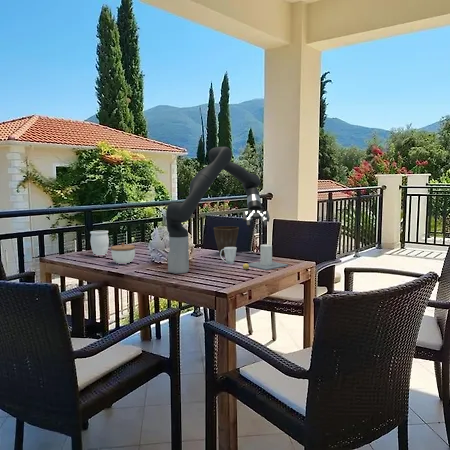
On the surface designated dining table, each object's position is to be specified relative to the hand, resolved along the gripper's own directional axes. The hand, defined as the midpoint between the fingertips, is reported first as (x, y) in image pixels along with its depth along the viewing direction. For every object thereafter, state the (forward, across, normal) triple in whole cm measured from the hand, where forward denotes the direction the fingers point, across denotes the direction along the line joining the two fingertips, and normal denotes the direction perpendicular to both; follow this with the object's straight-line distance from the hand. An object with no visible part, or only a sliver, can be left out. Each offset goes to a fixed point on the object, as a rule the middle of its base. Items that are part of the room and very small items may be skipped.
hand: (257, 226), depth 225 cm
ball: (+27, -8, +1) cm, 28 cm away
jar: (-7, -88, +35) cm, 95 cm away
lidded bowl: (+10, -71, +19) cm, 74 cm away
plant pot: (-5, -14, +32) cm, 35 cm away
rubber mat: (+21, +3, +6) cm, 22 cm away
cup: (+13, -15, +15) cm, 25 cm away
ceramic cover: (+20, +3, +6) cm, 21 cm away
